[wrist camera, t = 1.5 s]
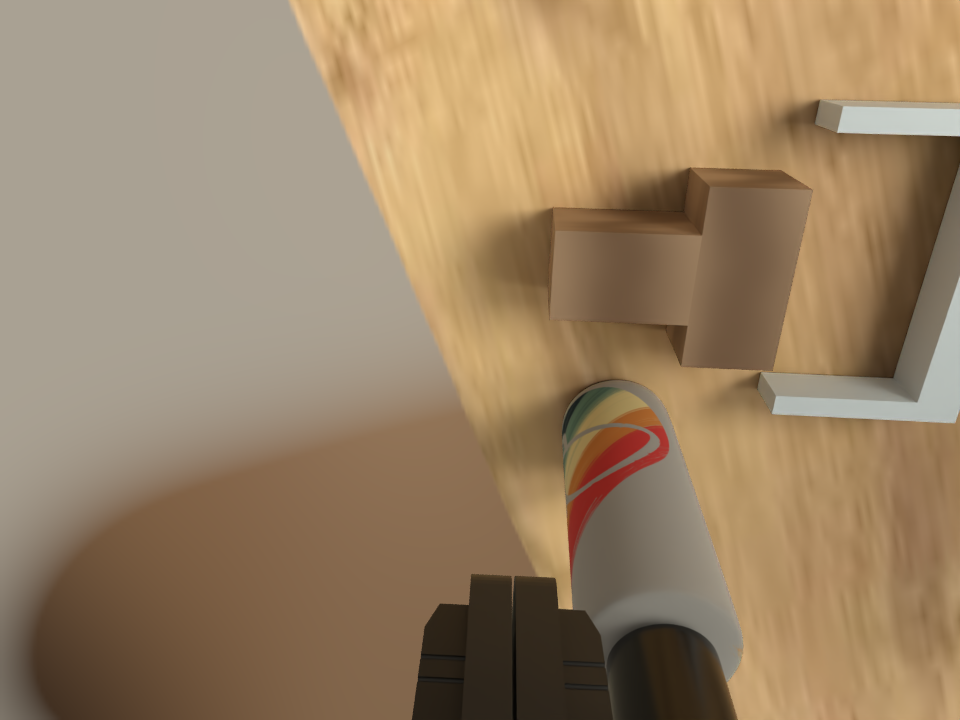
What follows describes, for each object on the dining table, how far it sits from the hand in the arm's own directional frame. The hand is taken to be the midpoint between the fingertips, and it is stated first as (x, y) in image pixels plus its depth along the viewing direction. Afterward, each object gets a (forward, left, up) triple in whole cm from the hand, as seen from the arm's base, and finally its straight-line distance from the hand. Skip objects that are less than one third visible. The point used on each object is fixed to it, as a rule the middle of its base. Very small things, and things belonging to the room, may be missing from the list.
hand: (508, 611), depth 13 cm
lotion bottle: (-5, +10, -24) cm, 26 cm away
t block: (-6, 0, -23) cm, 24 cm away
